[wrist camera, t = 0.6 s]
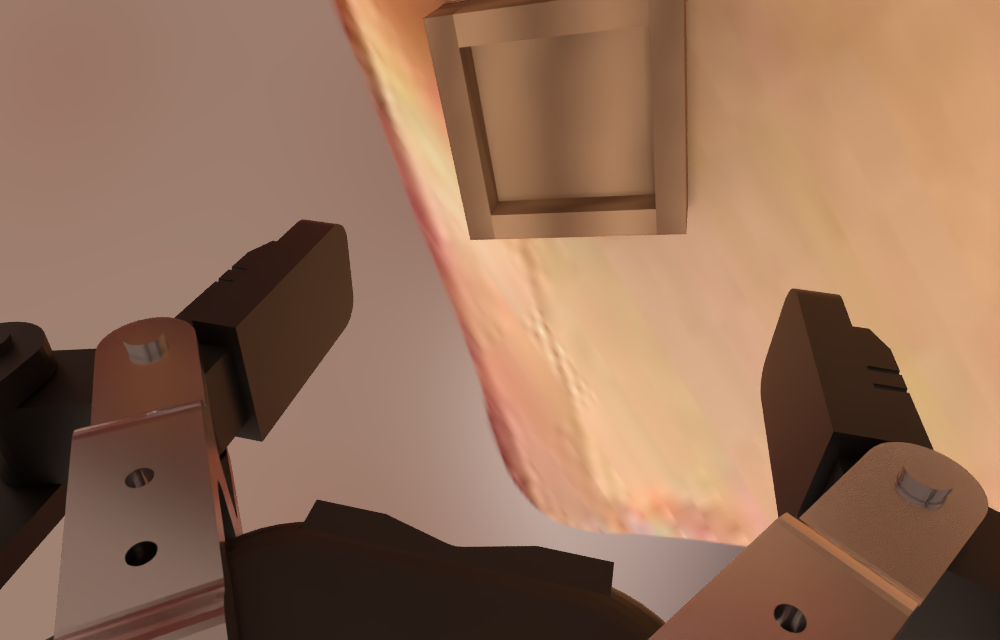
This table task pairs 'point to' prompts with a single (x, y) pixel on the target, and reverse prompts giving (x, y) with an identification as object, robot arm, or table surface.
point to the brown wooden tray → (565, 115)
